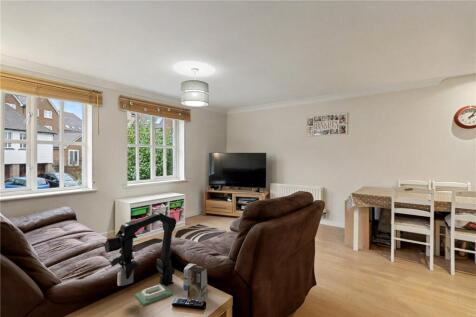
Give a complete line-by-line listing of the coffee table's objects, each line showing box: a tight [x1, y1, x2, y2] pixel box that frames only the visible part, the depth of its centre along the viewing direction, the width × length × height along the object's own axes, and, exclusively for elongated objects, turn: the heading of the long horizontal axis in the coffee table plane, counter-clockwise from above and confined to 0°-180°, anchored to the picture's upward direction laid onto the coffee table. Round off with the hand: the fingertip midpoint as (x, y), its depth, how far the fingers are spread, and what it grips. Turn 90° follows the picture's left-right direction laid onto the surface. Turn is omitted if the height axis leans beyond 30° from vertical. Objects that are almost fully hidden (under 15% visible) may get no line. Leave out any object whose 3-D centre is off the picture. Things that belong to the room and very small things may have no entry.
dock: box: [134, 283, 173, 307], centre depth 133 cm, size 16×12×3 cm
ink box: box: [182, 263, 197, 291], centre depth 143 cm, size 8×5×12 cm, turn 168°
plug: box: [116, 266, 135, 287], centre depth 128 cm, size 7×4×8 cm, turn 131°
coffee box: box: [186, 264, 209, 302], centre depth 132 cm, size 9×6×16 cm
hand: (126, 277), depth 128 cm, fingers closed on plug, 4 cm apart
